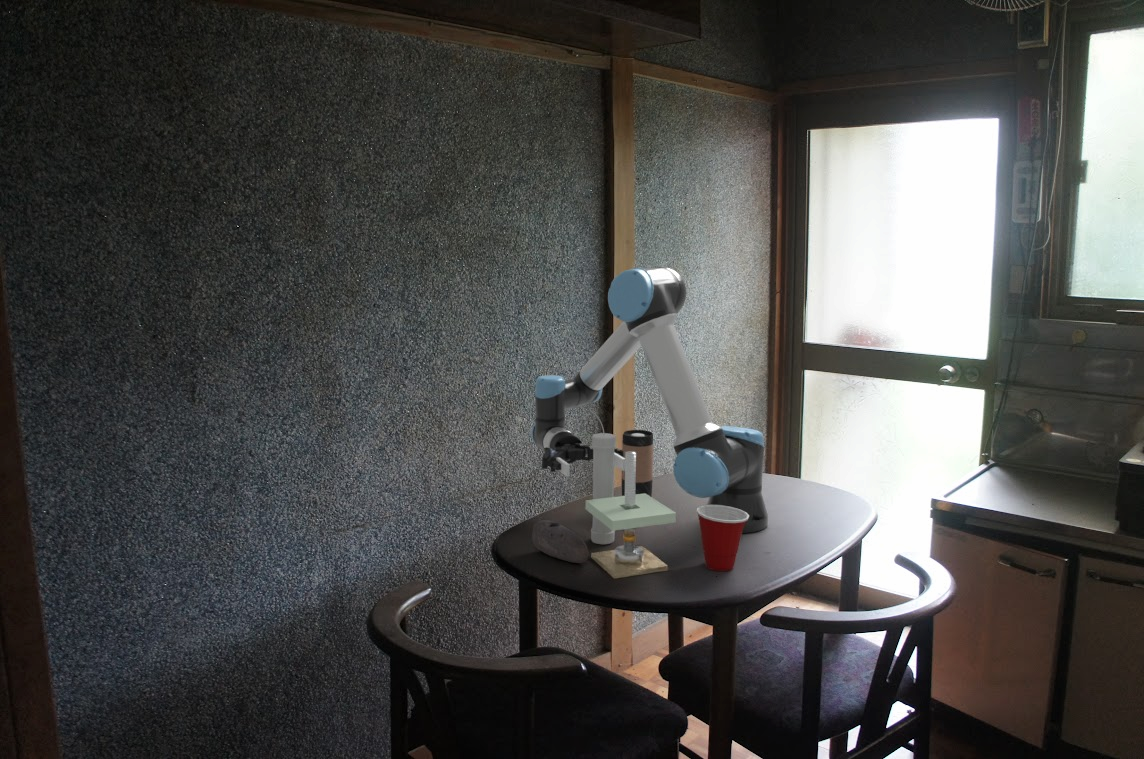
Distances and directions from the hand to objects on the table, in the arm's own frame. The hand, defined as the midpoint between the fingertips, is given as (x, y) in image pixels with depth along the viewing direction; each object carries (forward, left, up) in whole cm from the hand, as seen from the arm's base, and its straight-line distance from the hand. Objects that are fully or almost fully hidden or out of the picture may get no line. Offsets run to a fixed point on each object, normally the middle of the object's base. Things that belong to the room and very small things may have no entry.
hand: (596, 467), depth 191 cm
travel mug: (-8, -20, -17) cm, 27 cm away
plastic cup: (-28, +12, -17) cm, 34 cm away
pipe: (-1, +1, -17) cm, 17 cm away
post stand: (-9, +14, -17) cm, 23 cm away
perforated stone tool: (+6, +13, -17) cm, 22 cm away
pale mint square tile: (-9, +14, -6) cm, 18 cm away
